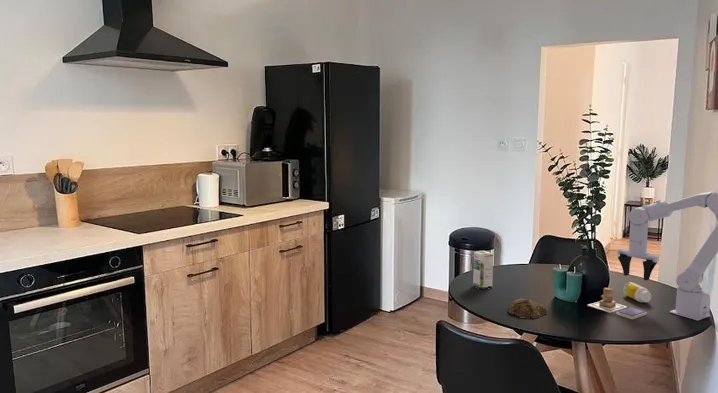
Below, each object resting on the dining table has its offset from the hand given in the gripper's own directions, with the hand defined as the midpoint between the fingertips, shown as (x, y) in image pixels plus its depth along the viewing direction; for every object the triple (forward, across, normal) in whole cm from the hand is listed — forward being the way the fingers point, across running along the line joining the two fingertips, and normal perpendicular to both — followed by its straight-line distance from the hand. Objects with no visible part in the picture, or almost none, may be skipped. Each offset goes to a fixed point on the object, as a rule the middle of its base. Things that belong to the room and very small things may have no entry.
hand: (636, 277), depth 197 cm
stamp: (+10, +4, +11) cm, 15 cm away
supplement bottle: (+7, +7, -7) cm, 12 cm away
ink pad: (+10, -6, +12) cm, 16 cm away
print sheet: (+10, +4, +11) cm, 15 cm away
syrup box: (+10, +45, +32) cm, 56 cm away
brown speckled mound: (+10, +15, +40) cm, 44 cm away
